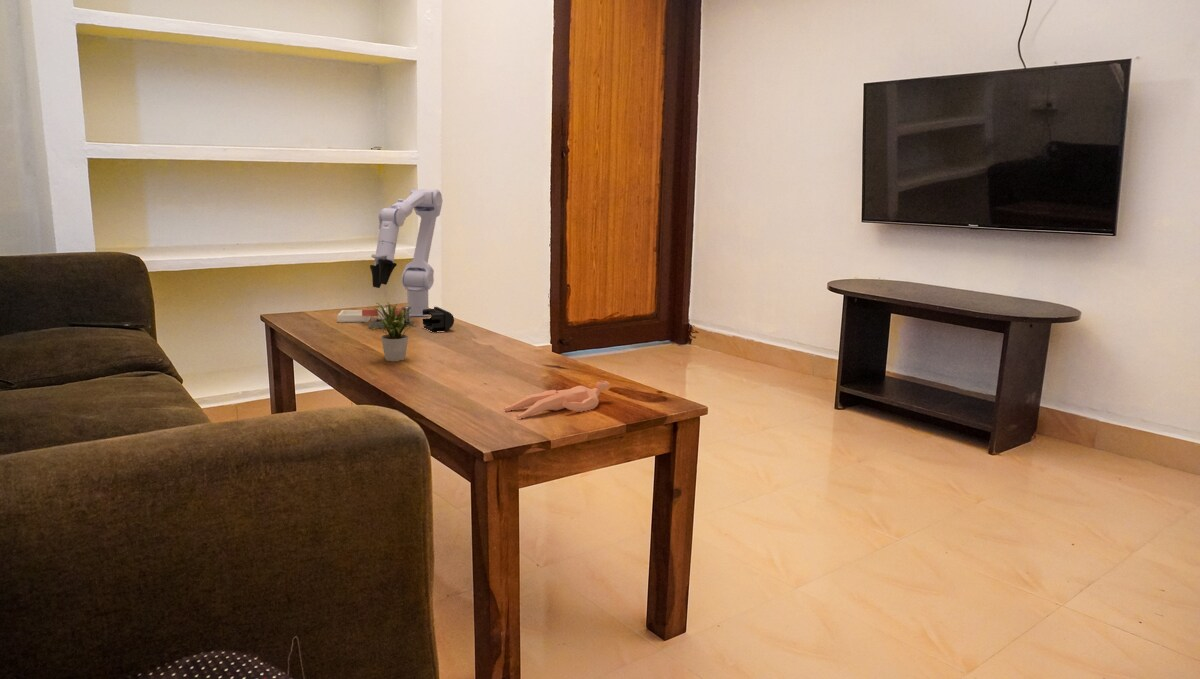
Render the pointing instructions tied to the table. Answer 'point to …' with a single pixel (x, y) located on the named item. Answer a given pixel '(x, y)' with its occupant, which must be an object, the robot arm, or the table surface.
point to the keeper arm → (372, 312)
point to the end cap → (438, 319)
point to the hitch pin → (382, 313)
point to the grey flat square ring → (375, 321)
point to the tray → (352, 316)
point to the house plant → (394, 334)
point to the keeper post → (406, 315)
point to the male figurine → (560, 400)
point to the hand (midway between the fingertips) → (379, 285)
